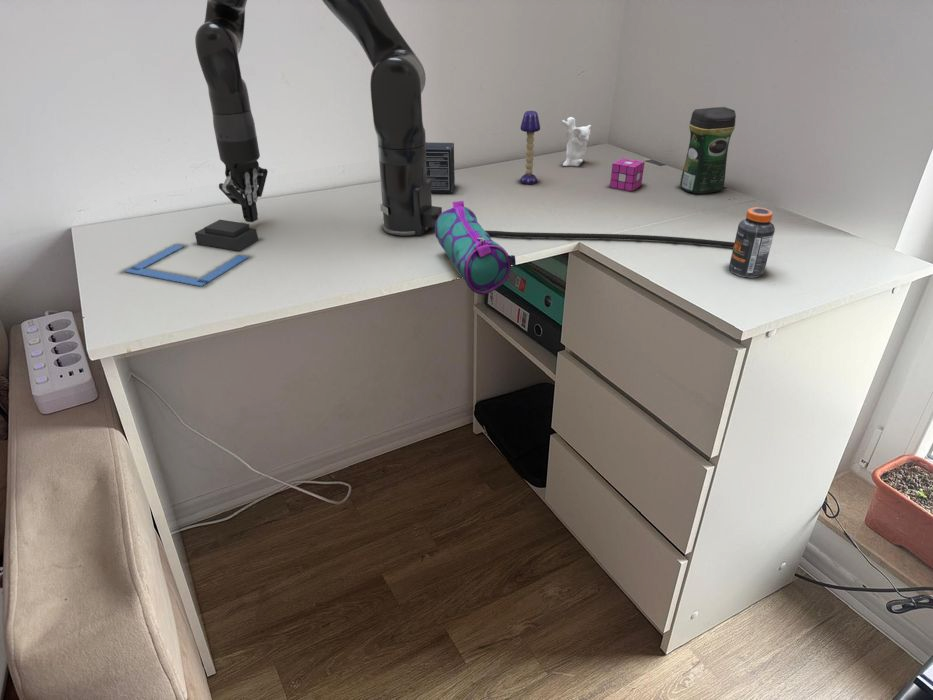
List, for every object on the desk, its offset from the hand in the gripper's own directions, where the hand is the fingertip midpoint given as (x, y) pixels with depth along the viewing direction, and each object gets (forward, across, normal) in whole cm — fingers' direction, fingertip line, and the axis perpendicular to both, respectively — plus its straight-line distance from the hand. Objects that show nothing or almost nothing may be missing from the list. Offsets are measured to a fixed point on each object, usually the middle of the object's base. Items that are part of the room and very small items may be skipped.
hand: (251, 220), depth 137 cm
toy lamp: (+2, +49, -45) cm, 66 cm away
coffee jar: (+2, +58, -85) cm, 103 cm away
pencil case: (+2, -4, -50) cm, 50 cm away
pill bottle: (+2, +13, -96) cm, 97 cm away
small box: (+2, +36, -25) cm, 44 cm away
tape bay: (+2, -19, 0) cm, 19 cm away
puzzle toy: (+2, +54, -68) cm, 87 cm away
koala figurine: (+2, +68, -52) cm, 85 cm away
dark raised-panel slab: (+2, -8, 0) cm, 8 cm away
